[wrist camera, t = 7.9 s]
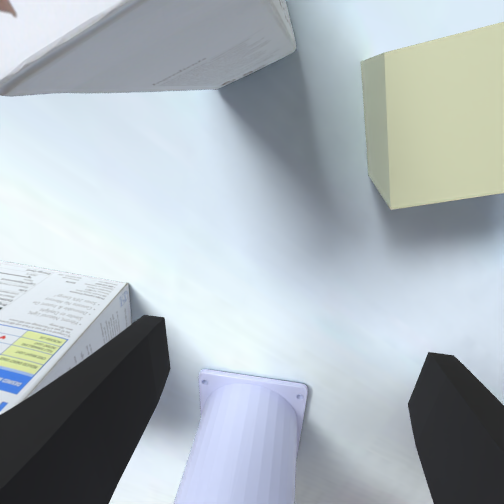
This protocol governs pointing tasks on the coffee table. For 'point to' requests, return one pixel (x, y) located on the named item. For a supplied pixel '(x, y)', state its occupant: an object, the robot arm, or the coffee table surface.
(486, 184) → the olive cube
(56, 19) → the skincare box
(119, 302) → the light bulb box
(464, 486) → the robot arm
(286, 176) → the coffee table surface
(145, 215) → the coffee table surface
